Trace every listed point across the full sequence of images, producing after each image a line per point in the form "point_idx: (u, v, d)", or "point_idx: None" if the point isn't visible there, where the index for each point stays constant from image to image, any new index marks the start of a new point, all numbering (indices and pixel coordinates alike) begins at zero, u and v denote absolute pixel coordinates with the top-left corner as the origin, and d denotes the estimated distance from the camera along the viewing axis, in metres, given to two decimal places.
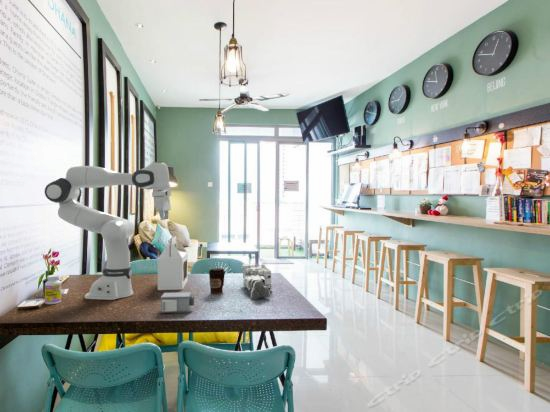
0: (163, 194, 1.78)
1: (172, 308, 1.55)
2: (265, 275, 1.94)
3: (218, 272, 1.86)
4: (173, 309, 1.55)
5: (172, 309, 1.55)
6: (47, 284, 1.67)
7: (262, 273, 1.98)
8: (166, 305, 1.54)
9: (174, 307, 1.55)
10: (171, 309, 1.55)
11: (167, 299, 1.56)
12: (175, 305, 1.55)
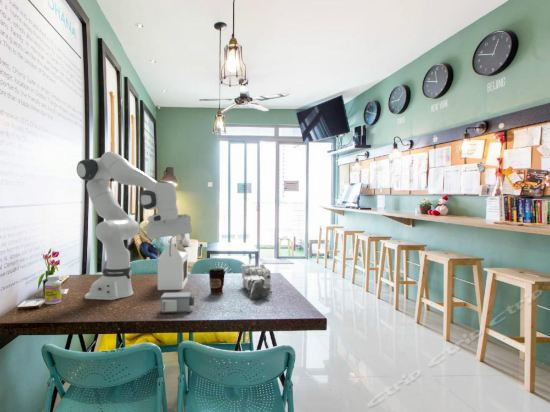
0: (150, 220, 1.58)
1: (172, 308, 1.55)
2: (264, 275, 1.94)
3: (218, 272, 1.86)
4: (173, 309, 1.55)
5: (172, 309, 1.55)
6: (47, 284, 1.67)
7: (261, 273, 1.98)
8: (166, 305, 1.54)
9: (174, 307, 1.55)
10: (171, 309, 1.55)
11: (167, 299, 1.56)
12: (175, 305, 1.55)
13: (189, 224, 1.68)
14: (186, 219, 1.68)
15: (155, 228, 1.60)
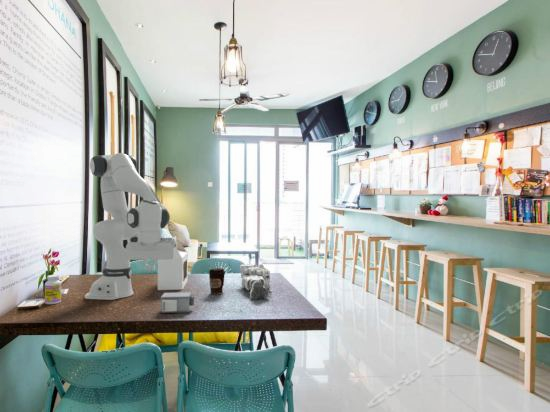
0: (128, 240, 1.50)
1: (172, 308, 1.55)
2: (264, 275, 1.94)
3: (218, 272, 1.86)
4: (173, 309, 1.55)
5: (172, 309, 1.55)
6: (47, 284, 1.67)
7: (260, 273, 1.97)
8: (166, 305, 1.54)
9: (174, 307, 1.55)
10: (171, 309, 1.55)
11: (167, 299, 1.56)
12: (175, 305, 1.55)
13: (171, 249, 1.53)
14: (168, 244, 1.53)
15: (133, 249, 1.52)
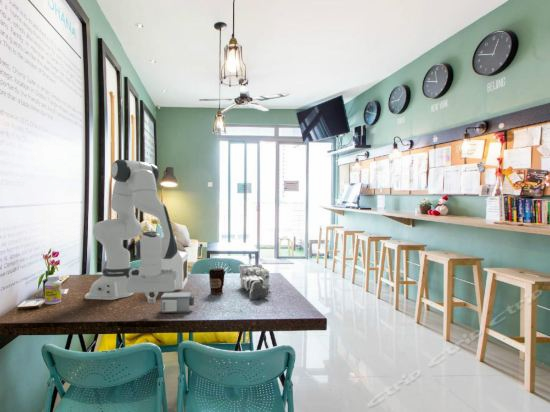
0: (129, 274, 1.51)
1: (172, 308, 1.55)
2: (263, 275, 1.94)
3: (218, 272, 1.86)
4: (173, 309, 1.55)
5: (172, 309, 1.55)
6: (47, 284, 1.67)
7: (260, 273, 1.97)
8: (166, 305, 1.54)
9: (174, 307, 1.55)
10: (171, 309, 1.55)
11: (167, 299, 1.56)
12: (175, 305, 1.55)
13: (172, 281, 1.53)
14: (169, 276, 1.53)
15: (134, 282, 1.52)
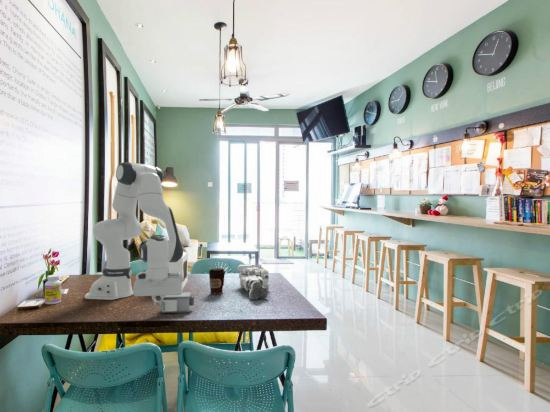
0: (136, 277, 1.51)
1: (172, 308, 1.55)
2: (262, 275, 1.94)
3: (218, 272, 1.86)
4: (173, 309, 1.55)
5: (172, 309, 1.55)
6: (47, 284, 1.67)
7: (259, 273, 1.97)
8: (166, 305, 1.54)
9: (174, 307, 1.55)
10: (171, 309, 1.55)
11: (167, 299, 1.56)
12: (175, 305, 1.55)
13: (179, 285, 1.53)
14: (176, 280, 1.53)
15: (141, 286, 1.52)
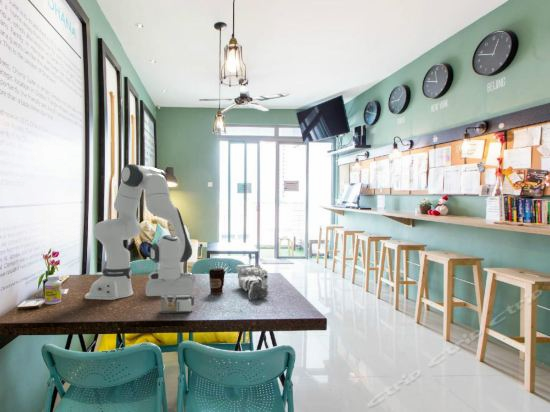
0: None
1: (186, 308, 1.55)
2: (261, 275, 1.93)
3: (218, 272, 1.86)
4: (187, 309, 1.55)
5: (186, 309, 1.55)
6: (47, 284, 1.67)
7: (258, 273, 1.97)
8: (180, 305, 1.55)
9: (189, 307, 1.55)
10: (185, 309, 1.55)
11: None
12: (189, 305, 1.55)
13: (191, 285, 1.54)
14: (188, 279, 1.54)
15: (153, 286, 1.53)
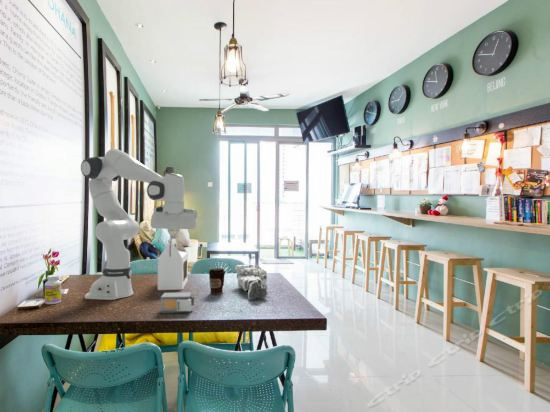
0: None
1: (186, 308, 1.55)
2: (260, 275, 1.93)
3: (218, 272, 1.86)
4: (187, 309, 1.55)
5: (186, 309, 1.55)
6: (47, 284, 1.67)
7: (257, 273, 1.97)
8: (180, 305, 1.55)
9: (189, 307, 1.55)
10: (185, 309, 1.55)
11: (167, 299, 1.56)
12: (189, 305, 1.55)
13: (193, 220, 1.64)
14: (190, 214, 1.64)
15: (158, 219, 1.63)
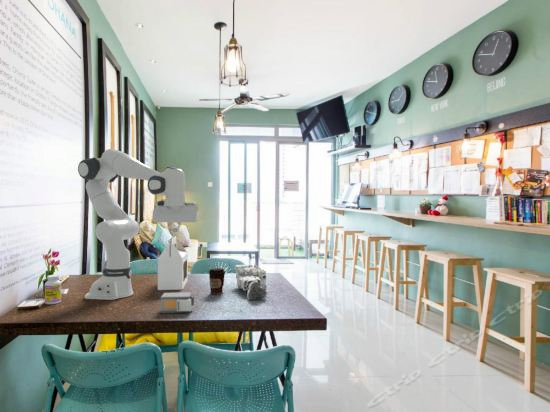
0: (155, 204, 1.64)
1: (186, 308, 1.55)
2: (260, 275, 1.93)
3: (218, 272, 1.86)
4: (187, 309, 1.55)
5: (186, 309, 1.55)
6: (47, 284, 1.67)
7: (256, 273, 1.96)
8: (180, 305, 1.55)
9: (189, 307, 1.55)
10: (185, 309, 1.55)
11: (167, 299, 1.56)
12: (189, 305, 1.55)
13: (194, 213, 1.66)
14: (191, 208, 1.66)
15: (159, 213, 1.65)
